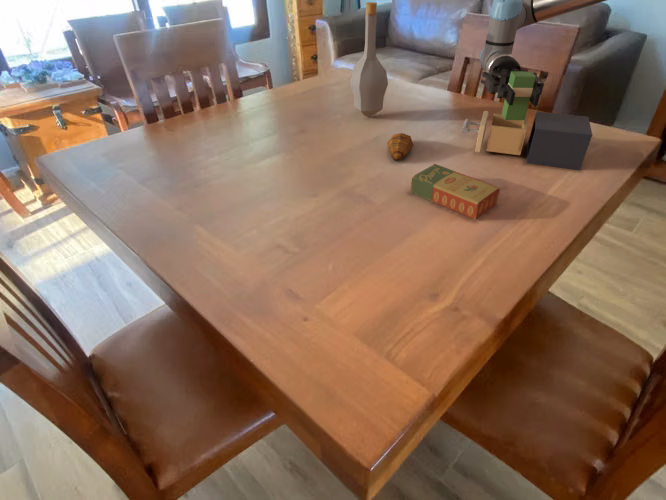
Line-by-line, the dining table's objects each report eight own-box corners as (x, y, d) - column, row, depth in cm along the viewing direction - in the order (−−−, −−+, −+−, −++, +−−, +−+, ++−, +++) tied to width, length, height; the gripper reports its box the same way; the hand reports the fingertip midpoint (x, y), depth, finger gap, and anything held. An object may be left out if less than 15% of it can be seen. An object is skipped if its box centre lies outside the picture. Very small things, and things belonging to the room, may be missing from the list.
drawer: (457, 149, 107) (461, 123, 103) (463, 134, 115) (467, 108, 110) (519, 157, 103) (526, 130, 98) (521, 141, 110) (528, 115, 106)
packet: (520, 114, 104) (531, 71, 98) (524, 120, 101) (536, 76, 95) (501, 113, 105) (510, 71, 98) (504, 120, 101) (514, 76, 95)
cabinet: (526, 163, 102) (535, 128, 97) (527, 144, 111) (536, 111, 105) (579, 170, 99) (592, 134, 94) (576, 150, 107) (588, 116, 102)
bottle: (341, 116, 129) (340, 3, 111) (368, 107, 135) (371, -2, 117) (367, 126, 122) (371, 8, 104) (394, 117, 128) (402, 2, 110)
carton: (474, 221, 83) (478, 202, 81) (409, 192, 93) (410, 174, 90) (496, 204, 88) (501, 186, 85) (432, 179, 97) (434, 161, 94)
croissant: (411, 164, 103) (412, 145, 100) (383, 162, 104) (384, 143, 101) (414, 142, 113) (416, 123, 110) (389, 140, 115) (390, 122, 112)
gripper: (533, 85, 115) (560, 116, 96) (466, 84, 116) (480, 115, 98) (541, 55, 110) (571, 82, 92) (471, 55, 112) (487, 81, 93)
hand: (524, 99), depth 95 cm, fingers closed on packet, 5 cm apart
